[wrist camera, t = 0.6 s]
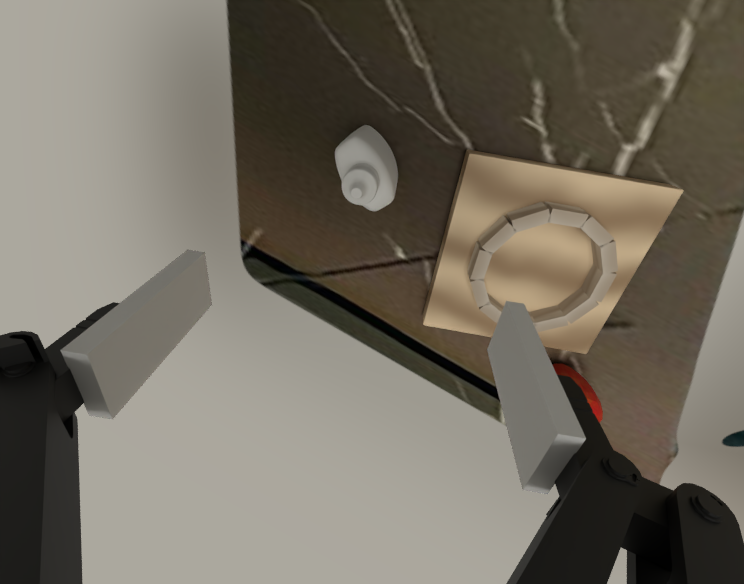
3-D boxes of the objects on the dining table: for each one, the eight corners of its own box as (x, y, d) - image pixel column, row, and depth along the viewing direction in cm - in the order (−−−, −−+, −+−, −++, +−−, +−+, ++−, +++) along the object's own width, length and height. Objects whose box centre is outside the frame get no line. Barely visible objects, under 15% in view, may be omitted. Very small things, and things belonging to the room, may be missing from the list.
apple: (534, 349, 42) (556, 398, 36) (588, 356, 42) (620, 406, 36) (519, 388, 45) (536, 439, 39) (569, 394, 45) (594, 446, 39)
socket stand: (466, 149, 32) (472, 157, 29) (669, 184, 32) (699, 197, 28) (422, 314, 41) (423, 336, 38) (579, 342, 41) (594, 366, 38)
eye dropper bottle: (353, 189, 35) (327, 235, 25) (347, 124, 32) (316, 147, 22) (398, 187, 34) (392, 234, 24) (397, 122, 31) (389, 144, 21)
